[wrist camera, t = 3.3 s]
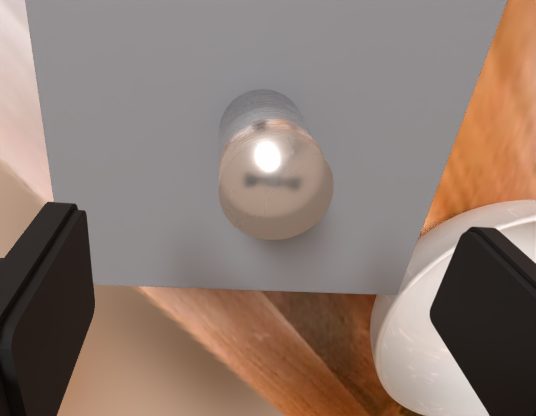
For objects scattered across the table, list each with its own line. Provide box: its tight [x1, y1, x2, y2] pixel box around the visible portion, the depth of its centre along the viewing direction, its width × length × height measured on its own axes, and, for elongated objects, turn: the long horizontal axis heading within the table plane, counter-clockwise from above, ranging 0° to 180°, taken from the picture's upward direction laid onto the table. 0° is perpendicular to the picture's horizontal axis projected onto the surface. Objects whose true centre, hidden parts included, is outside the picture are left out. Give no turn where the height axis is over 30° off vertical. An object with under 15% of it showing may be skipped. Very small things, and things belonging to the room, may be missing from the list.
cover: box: [25, 0, 508, 295], centre depth 19 cm, size 18×18×15 cm
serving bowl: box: [370, 200, 536, 416], centre depth 33 cm, size 21×21×7 cm
